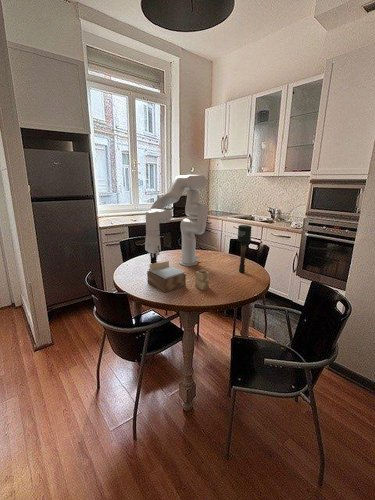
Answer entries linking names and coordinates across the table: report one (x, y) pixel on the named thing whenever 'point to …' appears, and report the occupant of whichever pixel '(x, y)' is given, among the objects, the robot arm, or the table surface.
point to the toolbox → (166, 282)
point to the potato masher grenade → (243, 243)
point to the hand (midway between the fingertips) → (153, 263)
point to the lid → (164, 270)
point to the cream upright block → (202, 279)
